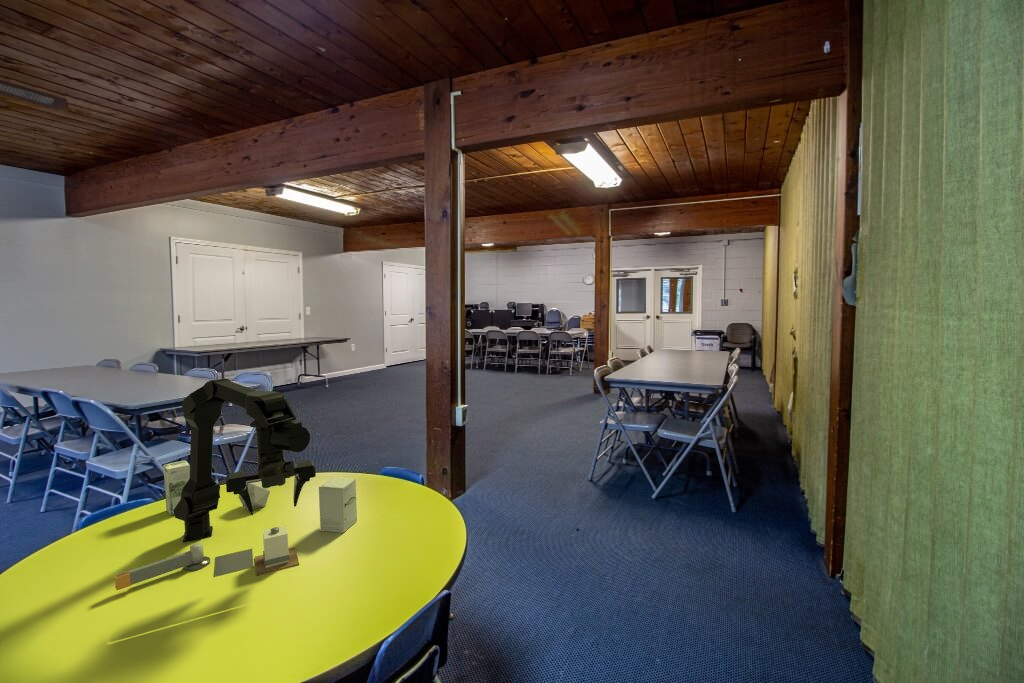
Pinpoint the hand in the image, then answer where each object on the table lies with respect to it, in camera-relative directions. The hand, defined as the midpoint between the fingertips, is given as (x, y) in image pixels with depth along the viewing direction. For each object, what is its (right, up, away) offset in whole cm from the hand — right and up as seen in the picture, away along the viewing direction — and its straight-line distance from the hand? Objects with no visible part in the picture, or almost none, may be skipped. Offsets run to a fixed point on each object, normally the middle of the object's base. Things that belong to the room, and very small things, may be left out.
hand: (274, 510), depth 115 cm
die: (-22, -11, +33) cm, 41 cm away
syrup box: (-44, -11, +31) cm, 55 cm away
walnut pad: (0, -13, +1) cm, 13 cm away
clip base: (-18, -13, 0) cm, 23 cm away
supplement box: (+9, -12, +20) cm, 24 cm away
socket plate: (-10, -13, +1) cm, 17 cm away
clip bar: (-23, -13, -5) cm, 27 cm away
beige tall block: (0, -12, +1) cm, 12 cm away
